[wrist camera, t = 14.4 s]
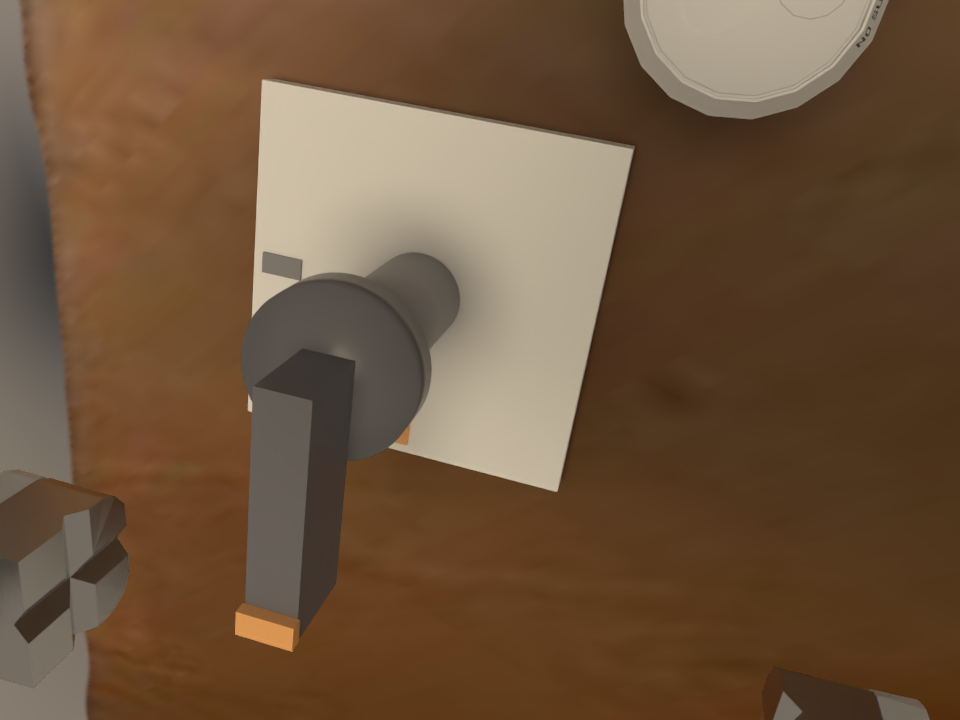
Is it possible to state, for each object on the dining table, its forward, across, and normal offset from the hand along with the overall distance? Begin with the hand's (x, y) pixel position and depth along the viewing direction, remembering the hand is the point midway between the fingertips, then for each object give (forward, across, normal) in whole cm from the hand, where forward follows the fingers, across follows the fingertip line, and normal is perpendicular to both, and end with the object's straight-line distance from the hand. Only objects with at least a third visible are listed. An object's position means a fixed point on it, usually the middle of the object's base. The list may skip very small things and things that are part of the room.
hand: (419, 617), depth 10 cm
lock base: (+35, +10, +8) cm, 37 cm away
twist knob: (+23, +10, +11) cm, 28 cm away
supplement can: (+35, -3, -9) cm, 37 cm away
